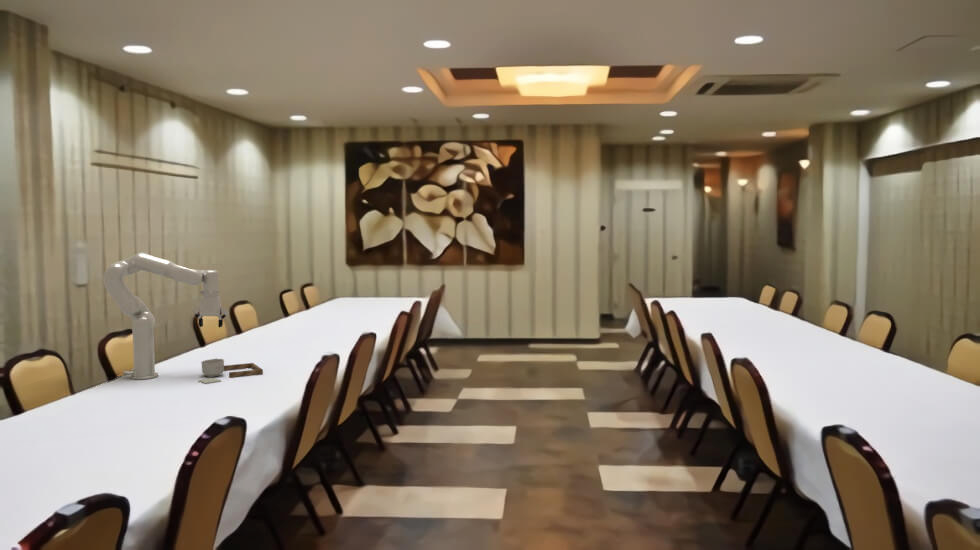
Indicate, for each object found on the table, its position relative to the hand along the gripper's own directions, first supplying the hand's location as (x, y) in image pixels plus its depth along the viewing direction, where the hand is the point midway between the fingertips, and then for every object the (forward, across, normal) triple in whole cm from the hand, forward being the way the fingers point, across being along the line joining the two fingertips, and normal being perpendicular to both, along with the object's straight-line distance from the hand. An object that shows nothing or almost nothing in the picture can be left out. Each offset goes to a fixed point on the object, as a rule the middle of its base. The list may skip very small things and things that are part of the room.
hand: (210, 326), depth 366 cm
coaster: (+25, +6, -19) cm, 32 cm away
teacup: (+25, +3, -4) cm, 25 cm away
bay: (+24, +15, +2) cm, 28 cm away
